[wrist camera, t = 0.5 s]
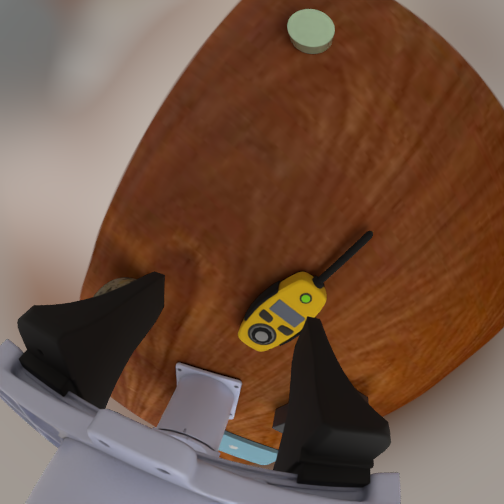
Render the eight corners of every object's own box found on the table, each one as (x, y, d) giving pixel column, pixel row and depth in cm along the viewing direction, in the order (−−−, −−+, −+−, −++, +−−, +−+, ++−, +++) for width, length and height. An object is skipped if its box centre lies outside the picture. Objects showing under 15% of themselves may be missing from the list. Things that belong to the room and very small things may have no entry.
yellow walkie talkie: (225, 333, 25) (352, 214, 18) (230, 320, 27) (348, 206, 20) (266, 361, 26) (395, 259, 19) (269, 348, 27) (389, 248, 20)
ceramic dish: (329, 58, 15) (331, 51, 14) (286, 50, 16) (283, 42, 14) (335, 23, 14) (337, 13, 12) (292, 15, 14) (290, 5, 13)
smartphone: (286, 452, 38) (203, 420, 37) (285, 457, 37) (201, 426, 36) (265, 462, 41) (189, 433, 40) (264, 467, 40) (187, 438, 39)
